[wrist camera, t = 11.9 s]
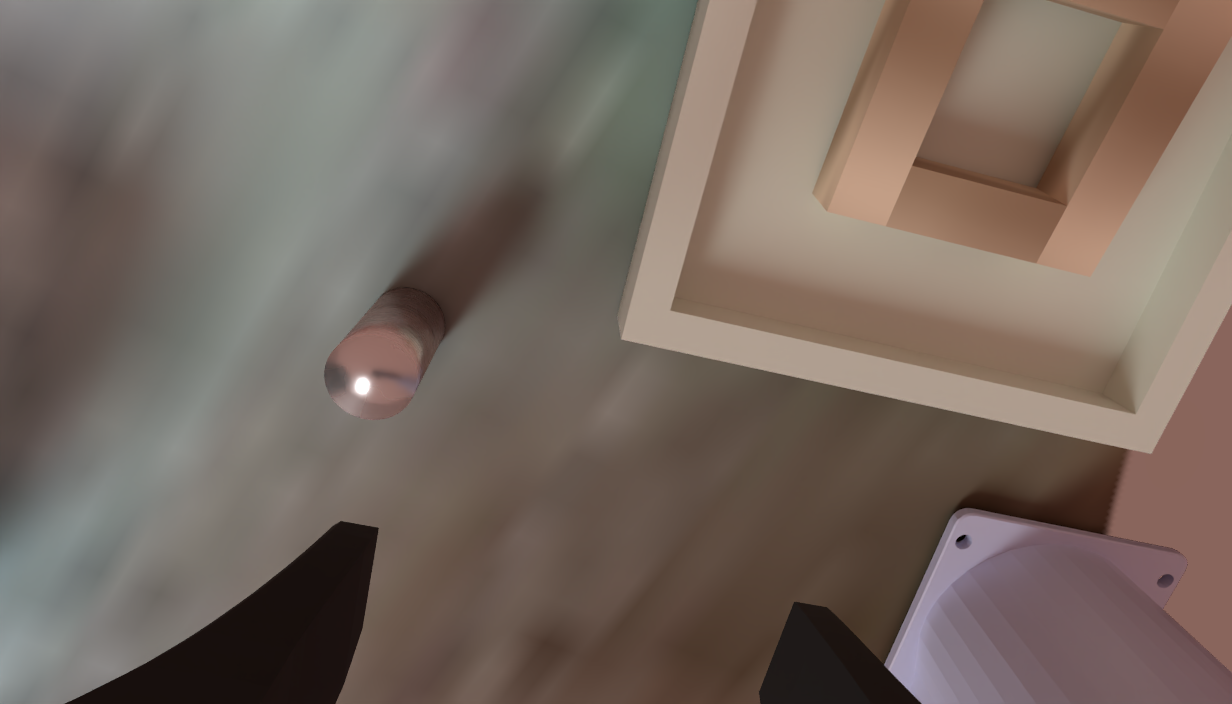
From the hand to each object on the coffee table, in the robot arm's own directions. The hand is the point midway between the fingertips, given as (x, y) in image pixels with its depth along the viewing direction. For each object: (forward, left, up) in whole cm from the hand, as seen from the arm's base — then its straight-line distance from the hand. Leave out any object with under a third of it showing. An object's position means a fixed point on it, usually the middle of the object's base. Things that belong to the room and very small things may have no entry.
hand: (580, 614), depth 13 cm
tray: (+10, -8, -9) cm, 16 cm away
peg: (+1, +5, -9) cm, 11 cm away
